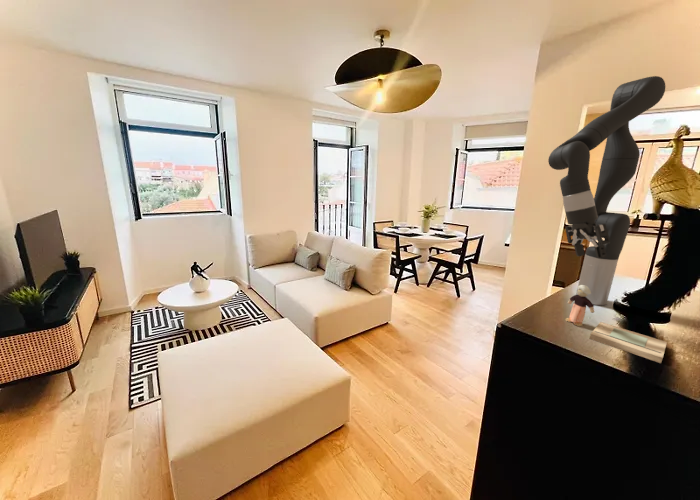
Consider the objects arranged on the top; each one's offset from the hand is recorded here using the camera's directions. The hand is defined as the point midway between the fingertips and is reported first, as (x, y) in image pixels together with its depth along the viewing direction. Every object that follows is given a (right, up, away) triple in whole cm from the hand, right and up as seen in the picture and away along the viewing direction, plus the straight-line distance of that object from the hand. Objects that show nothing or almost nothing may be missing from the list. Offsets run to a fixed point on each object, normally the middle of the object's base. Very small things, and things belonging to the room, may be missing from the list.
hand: (590, 256), depth 91 cm
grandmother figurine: (-6, -21, -1) cm, 22 cm away
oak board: (0, -24, -11) cm, 26 cm away
